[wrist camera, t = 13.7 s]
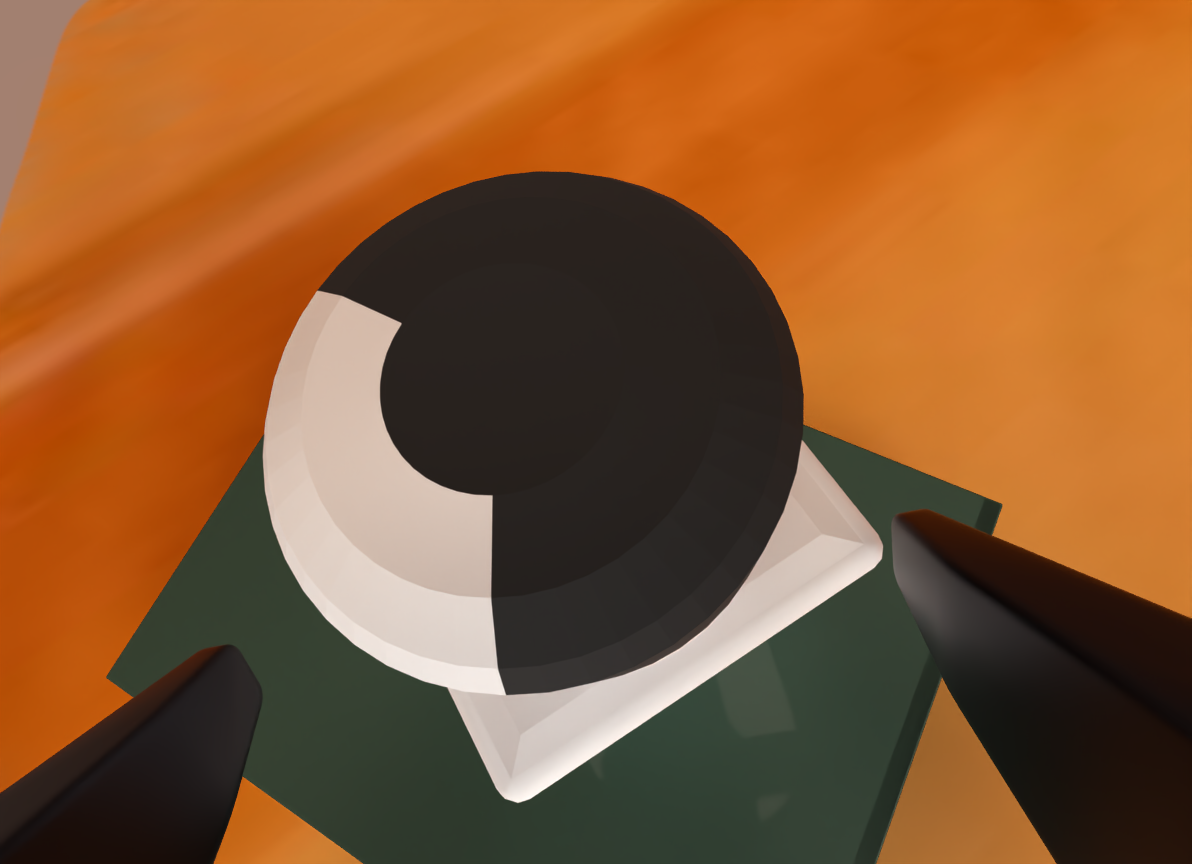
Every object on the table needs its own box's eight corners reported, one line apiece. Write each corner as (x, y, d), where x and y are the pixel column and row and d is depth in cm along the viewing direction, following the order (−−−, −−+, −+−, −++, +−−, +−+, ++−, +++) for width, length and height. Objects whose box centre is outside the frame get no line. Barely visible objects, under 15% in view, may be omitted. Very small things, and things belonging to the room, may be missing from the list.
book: (960, 525, 20) (1003, 504, 17) (760, 1073, 16) (772, 1160, 13) (416, 299, 25) (379, 254, 22) (181, 675, 22) (104, 677, 19)
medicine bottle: (663, 380, 19) (610, -8, 8) (820, 592, 17) (1066, 464, 5) (454, 515, 19) (91, 305, 8) (583, 752, 16) (325, 963, 5)
